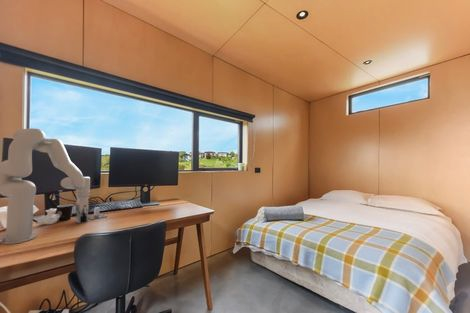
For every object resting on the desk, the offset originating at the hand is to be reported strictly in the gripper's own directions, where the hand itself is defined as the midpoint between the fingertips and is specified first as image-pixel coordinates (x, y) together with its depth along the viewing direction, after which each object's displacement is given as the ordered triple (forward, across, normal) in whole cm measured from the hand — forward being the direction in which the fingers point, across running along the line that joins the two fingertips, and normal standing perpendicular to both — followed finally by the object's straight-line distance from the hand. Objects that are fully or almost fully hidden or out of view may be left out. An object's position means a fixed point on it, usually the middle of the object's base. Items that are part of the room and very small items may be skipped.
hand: (82, 220), depth 136 cm
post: (+1, -5, +10) cm, 11 cm away
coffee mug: (+1, -15, -7) cm, 17 cm away
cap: (+1, 0, 0) cm, 1 cm away
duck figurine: (+1, -10, -15) cm, 18 cm away
